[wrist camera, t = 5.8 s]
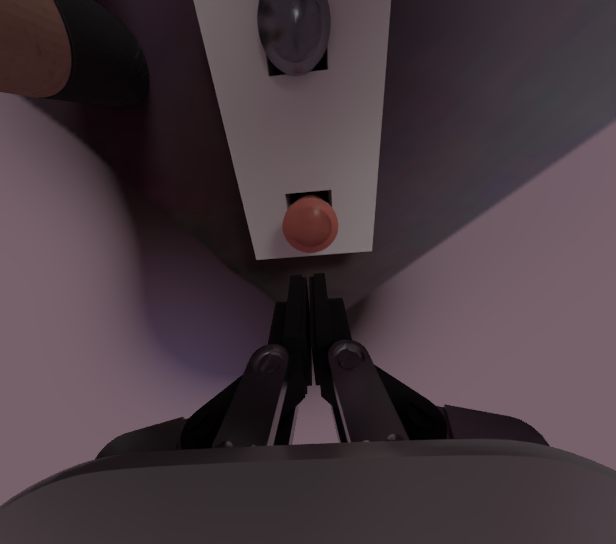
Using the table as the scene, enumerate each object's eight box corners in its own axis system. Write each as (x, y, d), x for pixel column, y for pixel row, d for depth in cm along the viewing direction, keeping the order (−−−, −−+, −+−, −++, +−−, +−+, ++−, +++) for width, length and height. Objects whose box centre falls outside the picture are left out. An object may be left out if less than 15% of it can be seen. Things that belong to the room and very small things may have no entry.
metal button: (262, 7, 18) (249, -28, 14) (324, -2, 18) (329, -40, 14) (272, 88, 21) (264, 77, 17) (327, 82, 20) (331, 69, 17)
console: (207, -21, 18) (176, -68, 14) (376, -44, 17) (398, -102, 13) (263, 242, 31) (256, 259, 27) (362, 234, 30) (371, 250, 26)
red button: (283, 191, 23) (278, 202, 19) (332, 186, 22) (338, 196, 19) (289, 237, 25) (286, 254, 22) (334, 233, 25) (338, 250, 21)
